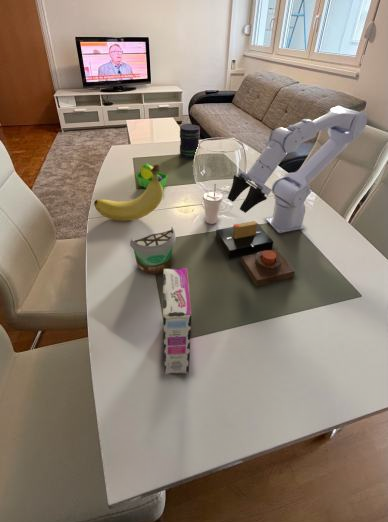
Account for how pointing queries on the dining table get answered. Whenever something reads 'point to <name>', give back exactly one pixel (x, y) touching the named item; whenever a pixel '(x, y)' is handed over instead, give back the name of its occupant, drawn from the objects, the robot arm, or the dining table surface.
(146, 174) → the fruit basket
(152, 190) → the banana
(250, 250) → the base
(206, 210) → the smoothie
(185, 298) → the candy bar box
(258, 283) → the block
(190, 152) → the storage jar
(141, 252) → the food container
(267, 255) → the button
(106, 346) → the dining table surface
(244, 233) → the tap lever
